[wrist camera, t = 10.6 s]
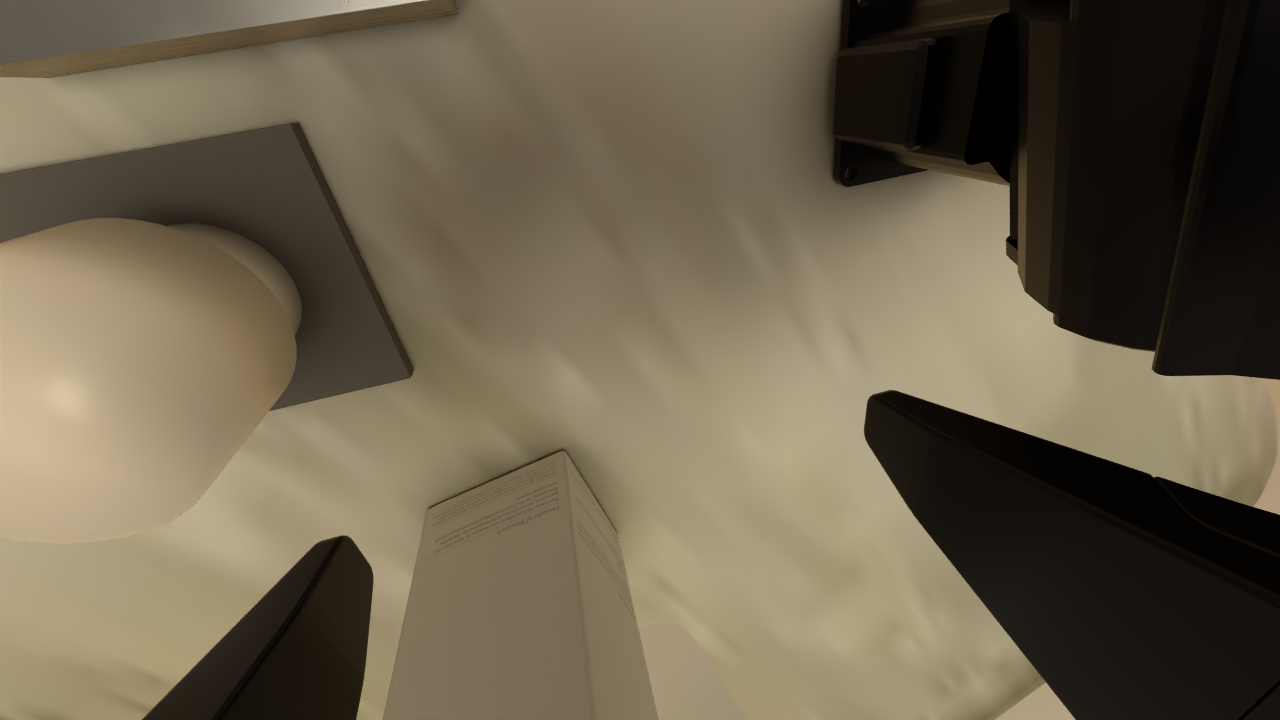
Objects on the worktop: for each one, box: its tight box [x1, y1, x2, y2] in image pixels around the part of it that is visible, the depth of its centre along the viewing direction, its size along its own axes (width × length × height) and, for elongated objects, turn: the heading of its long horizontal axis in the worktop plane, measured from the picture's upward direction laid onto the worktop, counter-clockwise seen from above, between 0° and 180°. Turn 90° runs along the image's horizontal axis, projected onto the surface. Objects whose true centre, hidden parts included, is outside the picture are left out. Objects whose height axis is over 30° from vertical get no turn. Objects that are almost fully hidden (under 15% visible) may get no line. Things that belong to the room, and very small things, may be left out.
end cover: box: [0, 218, 302, 543], centre depth 13 cm, size 6×6×7 cm
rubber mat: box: [0, 123, 414, 411], centre depth 16 cm, size 9×9×1 cm
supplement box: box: [383, 451, 658, 720], centre depth 19 cm, size 7×7×13 cm
